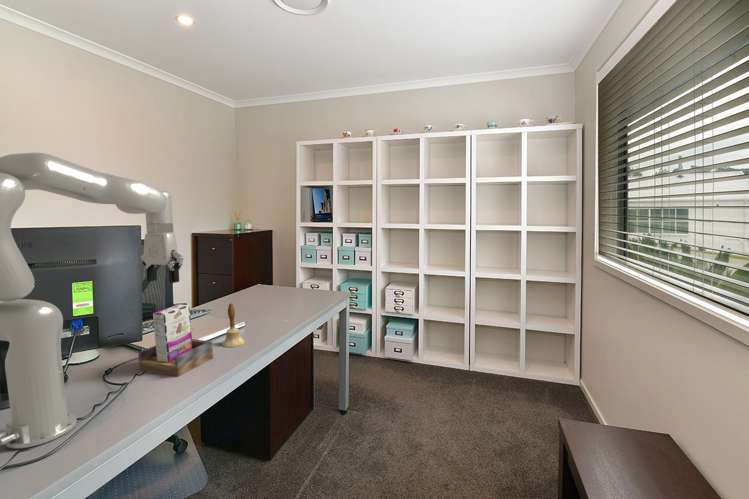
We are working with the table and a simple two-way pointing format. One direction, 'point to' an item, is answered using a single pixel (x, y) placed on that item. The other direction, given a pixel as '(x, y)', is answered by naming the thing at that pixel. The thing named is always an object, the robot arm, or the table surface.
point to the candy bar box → (172, 332)
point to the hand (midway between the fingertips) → (163, 281)
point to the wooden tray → (177, 359)
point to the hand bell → (232, 331)
